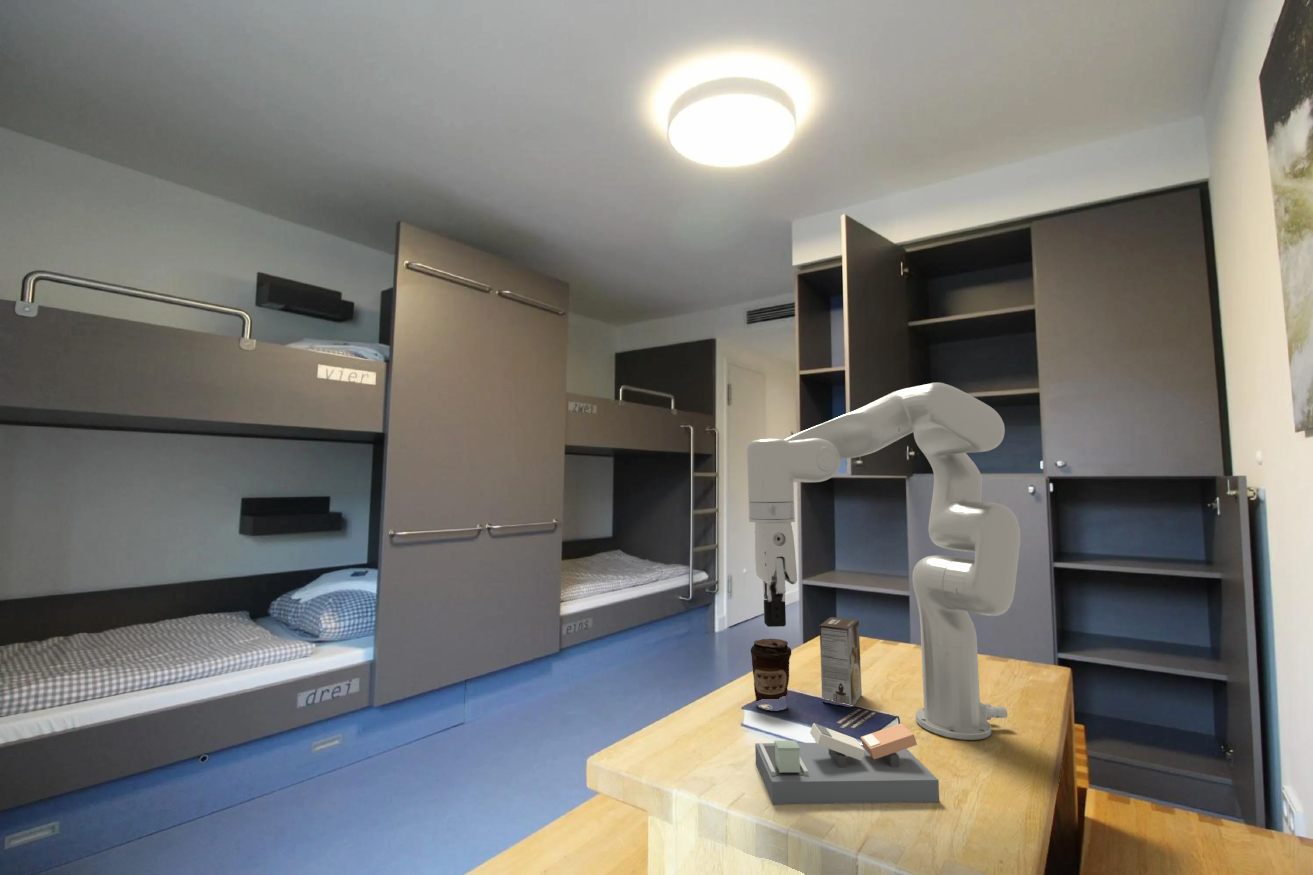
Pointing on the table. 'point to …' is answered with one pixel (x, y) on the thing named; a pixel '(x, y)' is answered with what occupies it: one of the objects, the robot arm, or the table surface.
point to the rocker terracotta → (888, 741)
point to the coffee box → (840, 660)
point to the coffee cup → (770, 668)
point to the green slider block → (787, 756)
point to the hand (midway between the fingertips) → (775, 624)
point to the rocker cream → (837, 741)
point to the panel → (846, 777)
